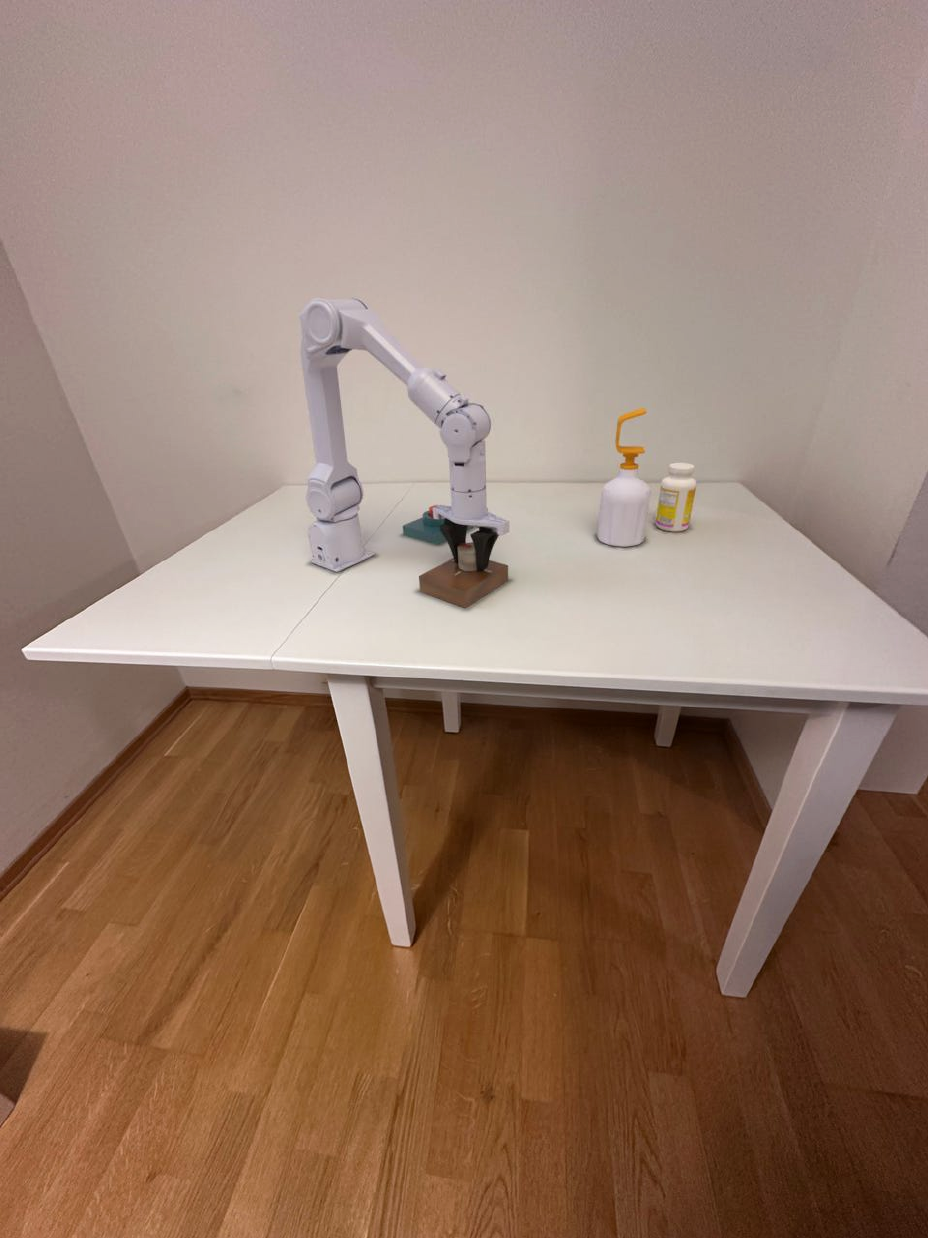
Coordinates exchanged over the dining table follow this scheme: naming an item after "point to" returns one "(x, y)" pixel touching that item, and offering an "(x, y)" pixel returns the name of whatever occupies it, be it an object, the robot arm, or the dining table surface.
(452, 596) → the knob panel
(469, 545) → the knob
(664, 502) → the supplement bottle
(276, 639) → the dining table surface
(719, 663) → the dining table surface
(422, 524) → the button console
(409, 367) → the robot arm
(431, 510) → the button
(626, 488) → the soap bottle
